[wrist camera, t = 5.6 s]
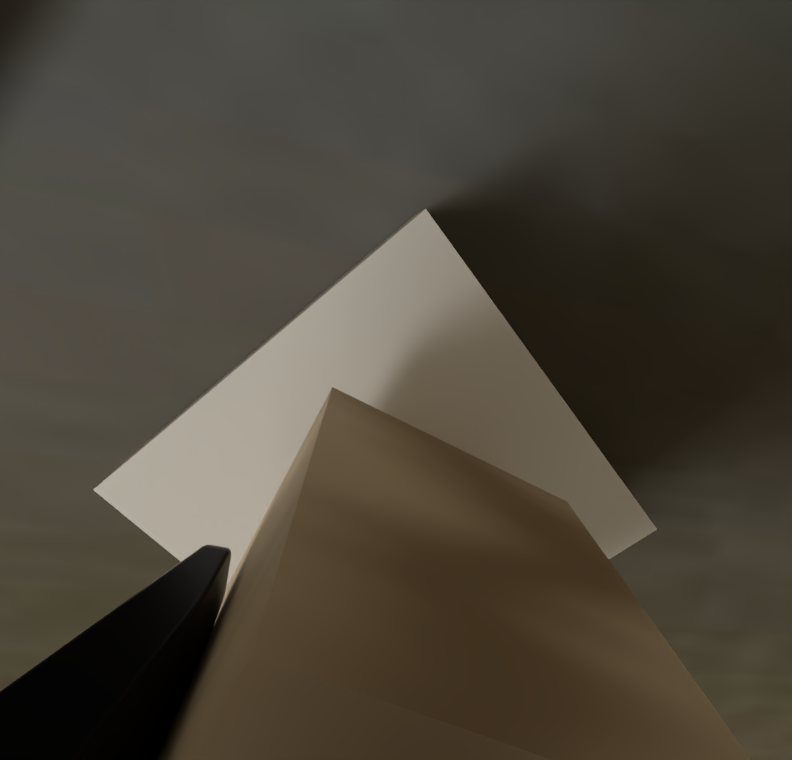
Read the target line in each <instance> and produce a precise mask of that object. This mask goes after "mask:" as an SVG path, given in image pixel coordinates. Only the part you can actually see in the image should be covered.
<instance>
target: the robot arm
mask: <svg viewBox="0 0 792 760" xmlns="http://www.w3.org/2000/svg"><path fill="white" fill-rule="evenodd" d="M230 560H231V550H230V549H229V548H227V547H221V546H215V545H205V546H202V547H201V548H200V549H198V550H197V551H195V552H194V553H193V554H191V555H190V556H188V557H187V558H186V559H184V560H183V561H181V562H180V563H179V564H177V565H176V566H174V567H173V568H172V569H170V570H169V571H167V572H166V573H165V574H163V575H162V576H161V577H159V578H158V579H156V580H155V581H154V582H152V583H151V584H149V585H148V586H147V587H145V588H144V589H142V590H141V591H140V592H138V593H137V594H135V595H134V596H133V597H131V598H130V599H128V600H127V601H126V602H124V603H123V604H122V605H120V606H119V607H117V608H116V609H115V610H113V611H112V612H110V613H109V614H108V615H106V616H105V617H103V618H102V619H101V620H99V621H98V622H96V623H95V624H94V625H92V626H91V627H89V628H88V629H87V630H85V631H84V632H82V633H81V634H80V635H78V636H77V637H76V638H74V639H73V640H71V641H70V642H69V643H67V644H66V645H64V646H63V647H62V648H60V649H59V650H57V651H56V652H55V653H53V654H52V655H50V656H49V657H48V658H46V659H45V660H43V661H42V662H41V663H39V664H38V665H37V666H35V667H34V668H32V669H31V670H30V671H28V672H27V673H25V674H24V675H23V676H21V677H20V678H18V679H17V680H16V681H14V682H13V683H11V684H10V685H9V686H7V687H6V688H4V689H3V690H2V691H0V760H156V758H157V756H158V754H159V751H160V749H161V747H162V745H163V742H164V740H165V738H166V736H167V734H168V731H169V729H170V727H171V725H172V723H173V720H174V718H175V716H176V714H177V711H178V709H179V707H180V705H181V703H182V700H183V698H184V696H185V694H186V691H187V689H188V687H189V684H190V682H191V680H192V677H193V675H194V673H195V670H196V668H197V666H198V663H199V661H200V658H201V656H202V654H203V651H204V649H205V647H206V644H207V642H208V639H209V637H210V635H211V632H212V630H213V627H214V624H215V621H216V619H217V616H218V613H219V610H220V607H221V604H222V602H223V598H224V595H225V590H226V585H227V579H228V572H229V566H230Z"/></svg>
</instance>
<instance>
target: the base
mask: <svg viewBox="0 0 792 760" xmlns="http://www.w3.org/2000/svg"><path fill="white" fill-rule="evenodd" d="M332 387H334V388H336V389H338V390H340V391H342V392H344V393H346V394H348V395H350V396H352V397H354V398H356V399H358V400H360V401H362V402H364V403H366V404H368V405H370V406H372V407H374V408H376V409H379V410H381V411H383V412H385V413H387V414H389V415H391V416H393V417H395V418H397V419H399V420H401V421H403V422H405V423H407V424H409V425H411V426H413V427H415V428H417V429H419V430H422V431H424V432H426V433H428V434H430V435H432V436H434V437H436V438H438V439H440V440H442V441H444V442H446V443H448V444H450V445H452V446H454V447H456V448H458V449H460V450H462V451H464V452H467V453H469V454H471V455H473V456H475V457H477V458H479V459H481V460H483V461H485V462H487V463H489V464H491V465H493V466H495V467H497V468H499V469H501V470H503V471H505V472H507V473H509V474H512V475H514V476H516V477H518V478H520V479H522V480H524V481H526V482H528V483H530V484H532V485H534V486H536V487H538V488H540V489H542V490H544V491H546V492H548V493H550V494H552V495H554V496H557V497H559V498H561V499H563V500H565V501H567V502H568V504H569V505H570V506H571V508H572V509H573V511H574V512H575V513H576V515H577V516H578V518H579V519H580V520H581V522H582V523H583V525H584V526H585V527H586V529H587V530H588V532H589V533H590V534H591V536H592V537H593V539H594V540H595V541H596V543H597V544H598V546H599V547H600V548H601V550H602V551H603V553H604V554H605V555H606V557H607V558H608V560H609V559H610V558H612V557H614V556H615V555H617V554H618V553H620V552H622V551H623V550H625V549H626V548H628V547H630V546H631V545H633V544H634V543H636V542H638V541H639V540H641V539H642V538H644V537H646V536H647V535H649V534H651V533H652V532H654V531H655V530H657V528H656V527H655V526H654V524H653V523H652V522H651V520H650V519H649V517H648V516H647V515H646V513H645V512H644V510H643V509H642V508H641V506H640V505H639V504H638V502H637V501H636V499H635V498H634V497H633V495H632V494H631V492H630V491H629V490H628V488H627V487H626V485H625V484H624V483H623V481H622V480H621V479H620V477H619V476H618V474H617V473H616V472H615V470H614V469H613V467H612V466H611V465H610V463H609V462H608V461H607V459H606V458H605V456H604V455H603V454H602V452H601V451H600V449H599V448H598V447H597V445H596V444H595V443H594V441H593V440H592V438H591V437H590V436H589V434H588V433H587V431H586V430H585V429H584V427H583V426H582V425H581V423H580V422H579V420H578V419H577V418H576V416H575V415H574V413H573V412H572V411H571V409H570V408H569V407H568V405H567V404H566V402H565V401H564V400H563V398H562V397H561V395H560V394H559V393H558V391H557V390H556V389H555V387H554V386H553V384H552V383H551V382H550V380H549V379H548V377H547V376H546V375H545V373H544V372H543V370H542V369H541V368H540V366H539V365H538V364H537V362H536V361H535V359H534V358H533V357H532V355H531V354H530V352H529V351H528V350H527V348H526V347H525V346H524V344H523V343H522V341H521V340H520V339H519V337H518V336H517V334H516V333H515V332H514V330H513V329H512V328H511V326H510V325H509V323H508V322H507V321H506V319H505V318H504V316H503V315H502V314H501V312H500V311H499V310H498V308H497V307H496V305H495V304H494V303H493V301H492V300H491V298H490V297H489V296H488V294H487V293H486V292H485V290H484V289H483V287H482V286H481V285H480V283H479V282H478V280H477V279H476V278H475V276H474V275H473V273H472V272H471V271H470V269H469V268H468V267H467V265H466V264H465V262H464V261H463V260H462V258H461V257H460V255H459V254H458V253H457V251H456V250H455V249H454V247H453V246H452V244H451V243H450V242H449V240H448V239H447V237H446V236H445V235H444V233H443V232H442V231H441V229H440V228H439V226H438V225H437V224H436V222H435V221H434V219H433V218H432V217H431V215H430V214H429V213H428V211H427V210H426V209H424V210H423V211H421V212H419V213H417V214H416V215H414V216H413V217H412V218H411V219H409V220H408V221H407V222H406V223H405V224H404V225H402V226H401V227H400V228H399V229H398V230H396V231H395V232H394V233H393V234H392V235H391V236H389V237H388V238H387V239H386V240H385V241H383V242H382V243H381V244H380V245H379V246H378V247H376V248H375V249H374V250H373V251H372V252H370V253H369V254H368V255H367V256H366V257H365V258H363V259H362V260H361V261H360V262H359V263H357V264H356V265H355V266H354V267H353V268H352V269H350V270H349V271H348V272H347V273H346V274H344V275H343V276H342V277H341V278H340V279H339V280H337V281H336V282H335V283H334V284H333V285H332V286H330V287H329V288H328V289H327V290H326V291H324V292H323V293H322V294H321V295H320V296H319V297H317V298H316V299H315V300H314V301H313V302H311V303H310V304H309V305H308V306H307V307H306V308H304V309H303V310H302V311H301V312H300V313H298V314H297V315H296V316H295V317H294V318H293V319H291V320H290V321H289V322H288V323H287V324H285V325H284V326H283V327H282V328H281V329H280V330H278V331H277V332H276V333H275V334H274V335H272V336H271V337H270V338H269V339H268V340H267V341H265V342H264V343H263V344H262V345H261V346H259V347H258V348H257V349H256V350H255V351H254V352H252V353H251V354H250V355H249V356H248V357H246V358H245V359H244V360H243V361H242V362H241V363H239V364H238V365H237V366H236V367H235V368H233V369H232V370H231V371H230V372H229V373H228V374H226V375H225V376H224V377H223V378H222V379H220V380H219V381H218V382H217V383H216V384H215V385H213V386H212V387H211V388H210V389H209V390H208V391H206V392H205V393H204V394H203V395H202V396H200V397H199V398H198V399H197V400H196V401H195V402H193V403H192V404H191V405H190V406H189V407H187V408H186V409H185V410H184V411H183V412H182V413H180V414H179V415H178V416H177V417H176V418H174V419H173V420H172V421H171V422H170V423H169V424H167V425H166V426H165V427H164V428H163V429H161V430H160V431H159V432H158V433H157V434H156V435H154V436H153V437H152V438H151V439H150V440H149V441H147V442H146V443H145V444H144V445H143V446H142V447H141V448H140V449H138V450H137V451H136V452H135V453H134V454H133V455H132V456H131V457H129V458H128V459H127V460H126V461H125V462H124V463H123V464H122V465H120V466H119V467H118V468H117V469H116V470H115V471H114V472H113V473H111V474H110V475H109V476H108V477H107V478H106V479H105V480H104V481H102V482H101V483H100V484H99V485H98V486H97V487H96V488H95V489H93V490H94V491H95V492H96V493H98V494H99V495H100V496H101V497H103V498H104V499H105V500H106V501H107V502H109V503H110V504H111V505H112V506H114V507H115V508H116V509H117V510H118V511H120V512H121V513H122V514H123V515H125V516H126V517H127V518H128V519H129V520H131V521H132V522H133V523H134V524H136V525H137V526H138V527H139V528H140V529H142V530H143V531H144V532H145V533H147V534H148V535H149V536H150V537H151V538H153V539H154V540H155V541H156V542H158V543H159V544H160V545H161V546H162V547H164V548H165V549H166V550H167V551H168V552H170V553H171V554H172V555H173V556H175V557H176V558H177V559H178V560H179V561H183V560H184V559H186V558H187V557H188V556H190V555H191V554H193V553H194V552H195V551H197V550H198V549H200V548H201V547H202V546H205V545H215V546H221V547H227V548H229V549H230V550H231V560H230V566H229V572H228V579H227V585H228V583H229V581H230V579H231V577H232V576H233V574H234V572H235V570H236V568H237V566H238V564H239V562H240V560H241V559H242V557H243V555H244V553H245V551H246V549H247V547H248V545H249V543H250V542H251V540H252V538H253V536H254V534H255V532H256V530H257V528H258V526H259V525H260V523H261V521H262V519H263V517H264V515H265V513H266V511H267V509H268V508H269V506H270V504H271V502H272V500H273V498H274V496H275V494H276V492H277V491H278V489H279V487H280V485H281V483H282V481H283V479H284V477H285V476H286V474H287V472H288V470H289V468H290V466H291V464H292V462H293V460H294V459H295V457H296V455H297V453H298V451H299V449H300V447H301V445H302V443H303V442H304V440H305V438H306V436H307V434H308V432H309V430H310V428H311V426H312V425H313V423H314V421H315V419H316V417H317V415H318V413H319V411H320V409H321V408H322V406H323V404H324V402H325V400H326V398H327V396H328V394H329V392H330V391H331V389H332ZM227 585H226V587H227Z"/></svg>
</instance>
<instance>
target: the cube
mask: <svg viewBox="0 0 792 760" xmlns="http://www.w3.org/2000/svg"><path fill="white" fill-rule="evenodd" d="M156 760H751V759H750V757H749V756H748V755H747V753H746V752H745V750H744V749H743V748H742V746H741V745H740V743H739V742H738V741H737V739H736V738H735V736H734V735H733V734H732V732H731V731H730V729H729V728H728V727H727V725H726V724H725V722H724V721H723V720H722V718H721V717H720V715H719V714H718V712H717V711H716V710H715V708H714V707H713V705H712V704H711V703H710V701H709V700H708V698H707V697H706V696H705V694H704V693H703V691H702V690H701V689H700V687H699V686H698V684H697V683H696V682H695V680H694V679H693V677H692V676H691V675H690V673H689V672H688V670H687V669H686V668H685V666H684V665H683V663H682V662H681V661H680V659H679V658H678V656H677V655H676V654H675V652H674V651H673V649H672V648H671V647H670V645H669V644H668V642H667V641H666V640H665V638H664V637H663V635H662V634H661V633H660V631H659V630H658V628H657V627H656V626H655V624H654V623H653V621H652V620H651V619H650V617H649V616H648V614H647V613H646V612H645V610H644V609H643V607H642V606H641V605H640V603H639V602H638V600H637V599H636V598H635V596H634V595H633V593H632V592H631V590H630V589H629V588H628V586H627V585H626V583H625V582H624V581H623V579H622V578H621V576H620V575H619V574H618V572H617V571H616V569H615V568H614V567H613V565H612V564H611V562H610V561H609V560H608V558H607V557H606V555H605V554H604V553H603V551H602V550H601V548H600V547H599V546H598V544H597V543H596V541H595V540H594V539H593V537H592V536H591V534H590V533H589V532H588V530H587V529H586V527H585V526H584V525H583V523H582V522H581V520H580V519H579V518H578V516H577V515H576V513H575V512H574V511H573V509H572V508H571V506H570V505H569V504H568V502H567V501H565V500H563V499H561V498H559V497H557V496H554V495H552V494H550V493H548V492H546V491H544V490H542V489H540V488H538V487H536V486H534V485H532V484H530V483H528V482H526V481H524V480H522V479H520V478H518V477H516V476H514V475H512V474H509V473H507V472H505V471H503V470H501V469H499V468H497V467H495V466H493V465H491V464H489V463H487V462H485V461H483V460H481V459H479V458H477V457H475V456H473V455H471V454H469V453H467V452H464V451H462V450H460V449H458V448H456V447H454V446H452V445H450V444H448V443H446V442H444V441H442V440H440V439H438V438H436V437H434V436H432V435H430V434H428V433H426V432H424V431H422V430H419V429H417V428H415V427H413V426H411V425H409V424H407V423H405V422H403V421H401V420H399V419H397V418H395V417H393V416H391V415H389V414H387V413H385V412H383V411H381V410H379V409H376V408H374V407H372V406H370V405H368V404H366V403H364V402H362V401H360V400H358V399H356V398H354V397H352V396H350V395H348V394H346V393H344V392H342V391H340V390H338V389H336V388H334V387H332V389H331V391H330V392H329V394H328V396H327V398H326V400H325V402H324V404H323V406H322V408H321V409H320V411H319V413H318V415H317V417H316V419H315V421H314V423H313V425H312V426H311V428H310V430H309V432H308V434H307V436H306V438H305V440H304V442H303V443H302V445H301V447H300V449H299V451H298V453H297V455H296V457H295V459H294V460H293V462H292V464H291V466H290V468H289V470H288V472H287V474H286V476H285V477H284V479H283V481H282V483H281V485H280V487H279V489H278V491H277V492H276V494H275V496H274V498H273V500H272V502H271V504H270V506H269V508H268V509H267V511H266V513H265V515H264V517H263V519H262V521H261V523H260V525H259V526H258V528H257V530H256V532H255V534H254V536H253V538H252V540H251V542H250V543H249V545H248V547H247V549H246V551H245V553H244V555H243V557H242V559H241V560H240V562H239V564H238V566H237V568H236V570H235V572H234V574H233V576H232V577H231V579H230V581H229V583H228V585H227V587H226V590H225V595H224V598H223V602H222V604H221V607H220V610H219V613H218V616H217V619H216V621H215V624H214V627H213V630H212V632H211V635H210V637H209V639H208V642H207V644H206V647H205V649H204V651H203V654H202V656H201V658H200V661H199V663H198V666H197V668H196V670H195V673H194V675H193V677H192V680H191V682H190V684H189V687H188V689H187V691H186V694H185V696H184V698H183V700H182V703H181V705H180V707H179V709H178V711H177V714H176V716H175V718H174V720H173V723H172V725H171V727H170V729H169V731H168V734H167V736H166V738H165V740H164V742H163V745H162V747H161V749H160V751H159V754H158V756H157V758H156Z"/></svg>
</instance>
